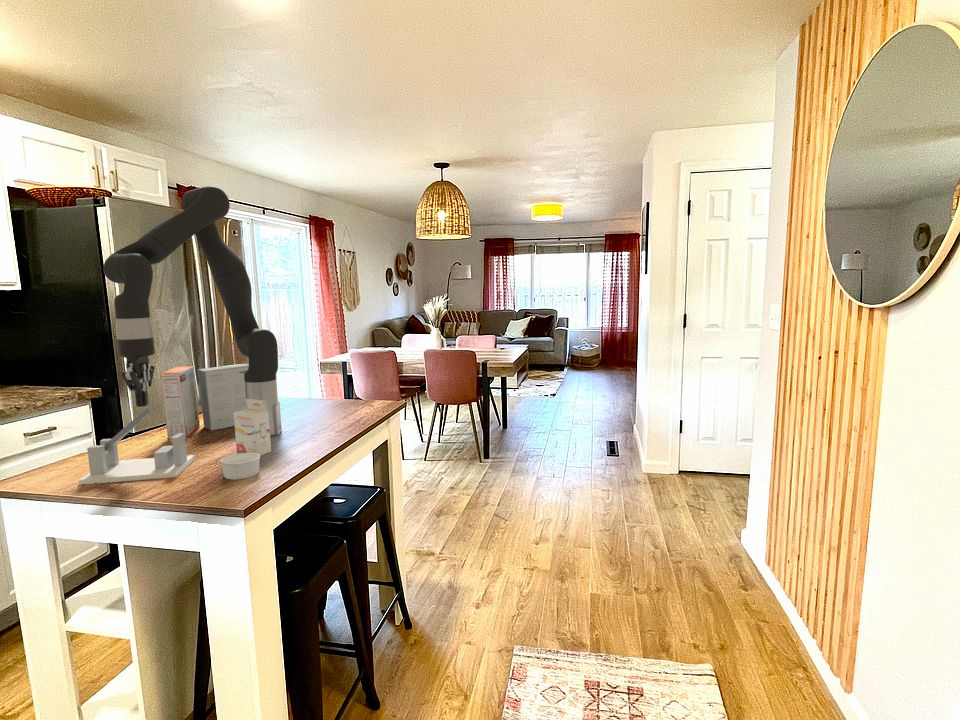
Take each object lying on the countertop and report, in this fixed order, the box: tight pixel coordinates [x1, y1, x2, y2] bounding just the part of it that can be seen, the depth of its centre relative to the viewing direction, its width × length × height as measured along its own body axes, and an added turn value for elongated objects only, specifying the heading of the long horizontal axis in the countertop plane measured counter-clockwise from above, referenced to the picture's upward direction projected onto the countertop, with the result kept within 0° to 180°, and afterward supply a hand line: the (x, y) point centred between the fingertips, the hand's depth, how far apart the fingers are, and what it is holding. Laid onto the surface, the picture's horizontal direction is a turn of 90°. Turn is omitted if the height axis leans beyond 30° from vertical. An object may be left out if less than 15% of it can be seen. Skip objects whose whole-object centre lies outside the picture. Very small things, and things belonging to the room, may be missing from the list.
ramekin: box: [220, 453, 261, 481], centre depth 129 cm, size 9×9×4 cm
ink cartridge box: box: [234, 399, 272, 457], centre depth 145 cm, size 9×5×15 cm, turn 65°
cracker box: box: [159, 365, 201, 440], centre depth 167 cm, size 14×6×21 cm, turn 13°
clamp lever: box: [104, 404, 157, 454], centre depth 131 cm, size 17×4×2 cm
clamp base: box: [78, 433, 196, 486], centre depth 132 cm, size 21×14×9 cm, turn 101°
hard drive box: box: [197, 363, 249, 432], centre depth 177 cm, size 16×8×20 cm, turn 133°
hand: (142, 405), depth 131 cm, fingers closed
